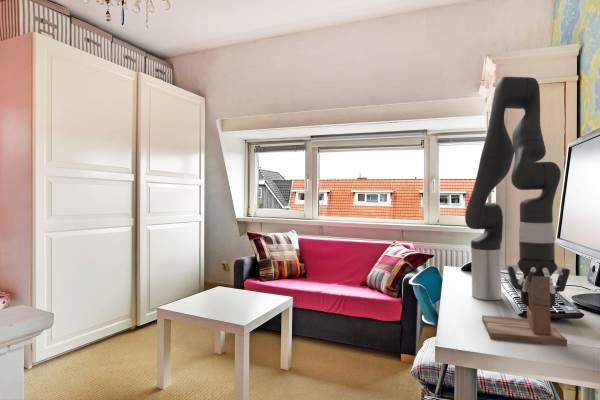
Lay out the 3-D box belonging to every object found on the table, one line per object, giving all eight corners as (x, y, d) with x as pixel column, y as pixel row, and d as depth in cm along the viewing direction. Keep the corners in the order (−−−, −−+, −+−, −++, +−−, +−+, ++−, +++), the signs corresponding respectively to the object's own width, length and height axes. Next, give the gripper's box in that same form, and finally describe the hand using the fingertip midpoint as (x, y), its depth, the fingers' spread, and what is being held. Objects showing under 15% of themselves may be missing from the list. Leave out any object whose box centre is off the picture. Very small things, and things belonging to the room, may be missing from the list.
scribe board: (482, 320, 102) (482, 315, 102) (547, 326, 97) (547, 320, 97) (490, 338, 89) (490, 332, 89) (567, 346, 83) (567, 339, 83)
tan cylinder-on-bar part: (533, 333, 87) (531, 260, 87) (526, 320, 97) (525, 254, 97) (551, 336, 86) (550, 261, 86) (542, 321, 96) (541, 254, 96)
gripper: (564, 239, 93) (565, 304, 93) (501, 238, 97) (503, 300, 97) (575, 242, 86) (577, 313, 86) (507, 241, 90) (509, 308, 90)
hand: (537, 306), depth 91 cm, fingers open, 4 cm apart
